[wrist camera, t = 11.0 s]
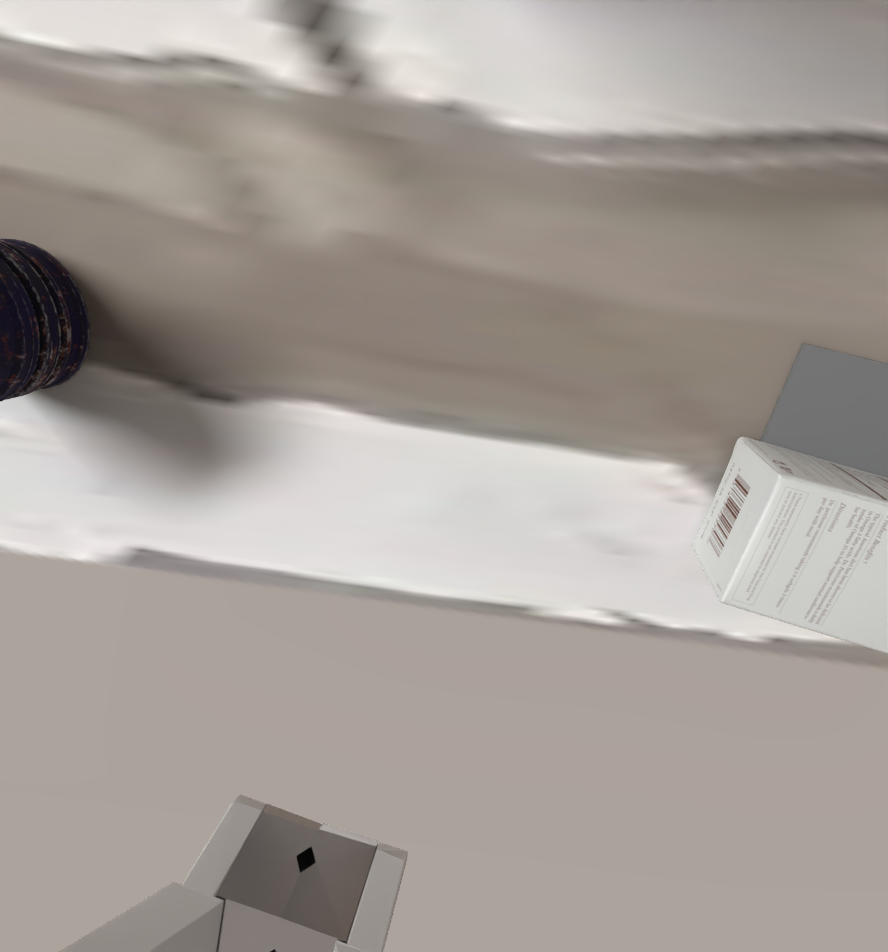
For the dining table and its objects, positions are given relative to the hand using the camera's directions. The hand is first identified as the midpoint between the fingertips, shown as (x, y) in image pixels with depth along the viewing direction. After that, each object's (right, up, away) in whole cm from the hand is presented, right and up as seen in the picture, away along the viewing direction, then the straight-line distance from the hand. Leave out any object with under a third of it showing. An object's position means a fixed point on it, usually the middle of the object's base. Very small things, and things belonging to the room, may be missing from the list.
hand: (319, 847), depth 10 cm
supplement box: (+17, +4, +22) cm, 28 cm away
